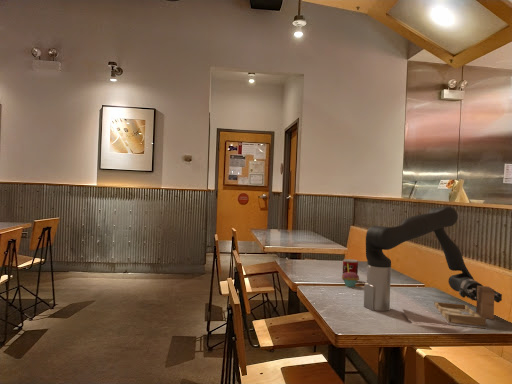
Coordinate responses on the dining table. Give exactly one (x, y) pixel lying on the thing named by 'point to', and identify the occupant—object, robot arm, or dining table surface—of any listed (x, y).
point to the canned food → (350, 266)
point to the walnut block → (485, 302)
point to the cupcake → (350, 278)
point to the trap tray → (460, 314)
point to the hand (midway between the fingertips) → (486, 298)
